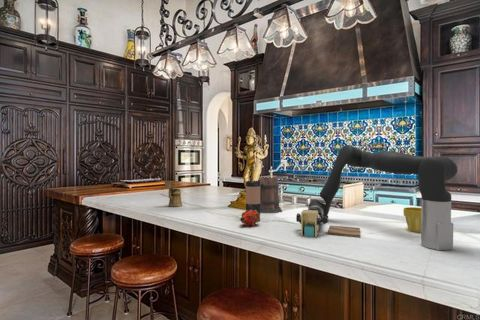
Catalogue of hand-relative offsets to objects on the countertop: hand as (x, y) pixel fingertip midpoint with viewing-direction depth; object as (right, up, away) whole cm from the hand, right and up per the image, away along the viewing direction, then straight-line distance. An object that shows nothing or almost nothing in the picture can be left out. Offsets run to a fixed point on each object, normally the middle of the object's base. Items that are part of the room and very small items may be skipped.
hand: (309, 222), depth 125 cm
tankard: (-13, -5, +55) cm, 57 cm away
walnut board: (+17, -6, +7) cm, 19 cm away
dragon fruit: (-24, -6, +19) cm, 31 cm away
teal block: (+1, -6, +2) cm, 7 cm away
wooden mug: (-72, -5, +71) cm, 102 cm away
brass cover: (+1, -6, +2) cm, 6 cm away
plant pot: (+50, -6, +10) cm, 52 cm away
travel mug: (-22, -6, +32) cm, 39 cm away
